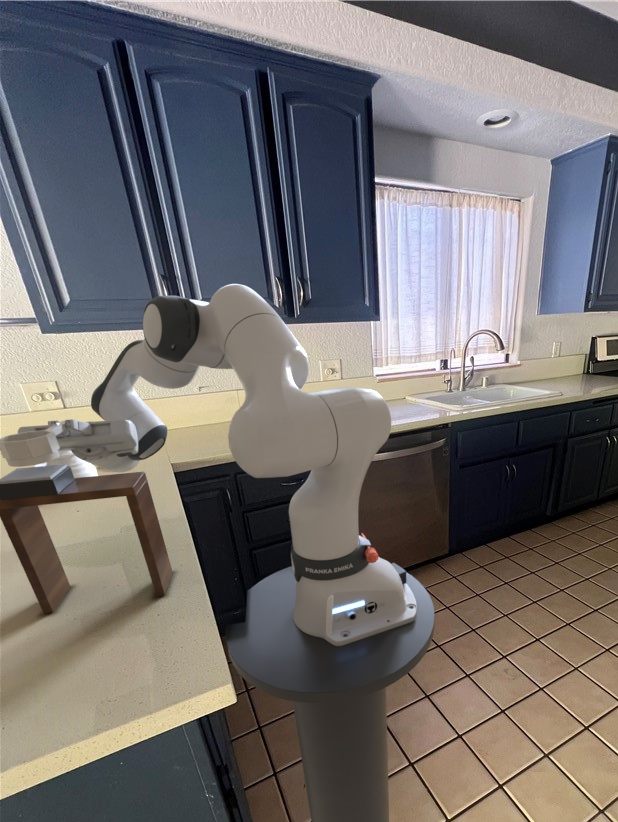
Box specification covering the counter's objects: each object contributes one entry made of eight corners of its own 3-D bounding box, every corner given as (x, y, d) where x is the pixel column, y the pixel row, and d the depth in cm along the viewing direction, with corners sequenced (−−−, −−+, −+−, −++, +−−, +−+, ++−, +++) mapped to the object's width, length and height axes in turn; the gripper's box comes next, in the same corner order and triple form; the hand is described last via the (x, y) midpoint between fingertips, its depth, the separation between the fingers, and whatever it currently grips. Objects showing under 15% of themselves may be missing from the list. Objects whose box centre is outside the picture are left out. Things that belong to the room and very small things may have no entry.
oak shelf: (172, 572, 87) (144, 471, 78) (165, 595, 80) (133, 487, 71) (62, 588, 83) (18, 483, 73) (43, 614, 76) (-8, 501, 66)
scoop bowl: (92, 434, 85) (85, 414, 83) (49, 463, 68) (40, 439, 66) (52, 438, 83) (44, 417, 81) (-1, 469, 66) (-13, 444, 65)
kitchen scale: (75, 479, 75) (69, 463, 73) (58, 494, 68) (51, 477, 67) (22, 484, 73) (15, 467, 72) (0, 500, 67) (-8, 482, 65)
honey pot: (57, 499, 123) (33, 439, 116) (47, 488, 132) (25, 431, 124) (106, 487, 132) (87, 429, 124) (94, 477, 140) (76, 423, 132)
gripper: (39, 433, 92) (-5, 412, 78) (143, 425, 96) (118, 403, 83) (42, 461, 91) (-2, 445, 78) (146, 452, 96) (121, 435, 82)
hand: (60, 424), depth 80 cm, fingers closed on scoop bowl
